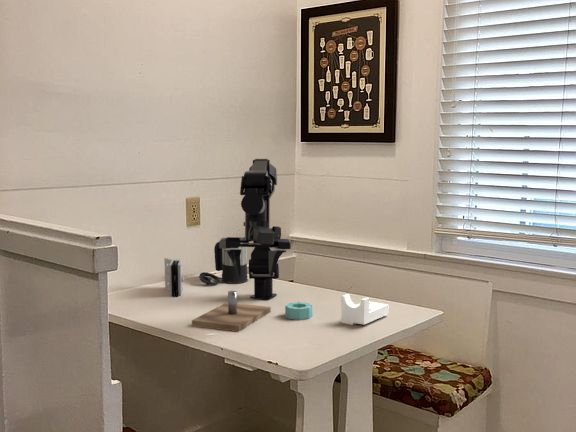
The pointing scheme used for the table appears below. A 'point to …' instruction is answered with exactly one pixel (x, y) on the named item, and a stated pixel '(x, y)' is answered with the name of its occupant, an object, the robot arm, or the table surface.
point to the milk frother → (227, 267)
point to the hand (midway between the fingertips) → (255, 276)
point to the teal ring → (298, 310)
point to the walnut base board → (231, 317)
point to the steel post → (232, 302)
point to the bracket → (361, 311)
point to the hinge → (174, 276)
